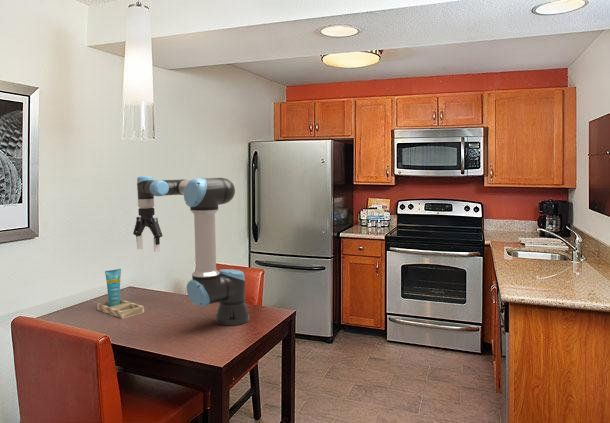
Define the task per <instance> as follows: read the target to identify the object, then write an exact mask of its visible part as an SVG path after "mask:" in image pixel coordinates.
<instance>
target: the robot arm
mask: <svg viewBox="0 0 610 423" xmlns="http://www.w3.org/2000/svg"><path fill="white" fill-rule="evenodd" d="M136 189H137V190H136V191H137V207H138V209H137V210H138V216H137V217H135V218H136V222H135V225H134V228H133V233H132V234H133V235H134V236H135V237H136V247H137V248H136V249H137V250H143V249H144V245H143V232H144V231H145V229H146V228H145V227H147V228H149V230H150V232H151V233H152V235H153V252H155V253H156V252H160V251H161V248H160V243H161V242H160V241H161V240H160V238H162V237H163V236H164V235H163V233H162V229H161V227H160V224H159V221H158V217H154V215H155V208H154V207H155V200H154V199H155V197H164V196H166V197H167V196H183V200H184V202H185V204H186V206H187V207H189V208H190V209H189V211H190V212H191V213H192V214H193V218H194V219H193V221H194V225H193V226H194V254H195V257H194V258H195V259H194V260H195V261H194V262H195V270H194V271H193V273H192V274H191V279H190V280H189V281H188V282H187V284H186V292H187V297H188V298H189V299H188V300H190V302H191V303H192V304H193V305H194V306H196V307H204V306H210V305H212V304H216V303H218V307H217V311H216V314H215V323H217V324H218V325H221V326H239V325H243V324H246V323H247V322H249V321H250V312H248V308H247V305H246V279H245V273H244V272H243V271H242V270H238V269H229V268H226V269H225V268H224V269H219V270H218V269H217V254H216V253H217V251H216V245H217V244H216V213H217V212H218V211H219V205H225V204H227V203H230V202H231V201H232V200H233V198H234V197H235V194H236V188H235V185H234V184H233V182H232V181H231V180H229V179H228V178H224V177H198V178H193V179H186V178H185V179H155V180H154V177H153V176H149V175H148V176H144V175H143V176H138V177H137V178H136Z"/></svg>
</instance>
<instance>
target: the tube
mask: <svg viewBox="0 0 610 423" xmlns="http://www.w3.org/2000/svg"><path fill="white" fill-rule="evenodd" d="M104 274H105V279H106V289H107V299H108V300H107V301H108V302H109V307H111V306H115V305H119V304H120V299H121V298H120V297H121V274H122V268H117V269H111V270H105V271H104Z"/></svg>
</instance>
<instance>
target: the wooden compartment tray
mask: <svg viewBox="0 0 610 423" xmlns="http://www.w3.org/2000/svg"><path fill="white" fill-rule="evenodd" d="M96 307H97V308H96V309H97V311H99V312H102V313H105V314H108V315H110V316H114V317H116V318H118V319H121V320H122V319H126V318H129V317H130V318H131V317H133V316H137V315H140V314H143V313H145V306H144V305H142V304H141V305H140V304H138V303H134V302H131V301H127V300H124V299H122V298H120V304H119V305H115V306H111V307H109V302H108V300H107V301H103V302H99V303H97V305H96Z"/></svg>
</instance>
